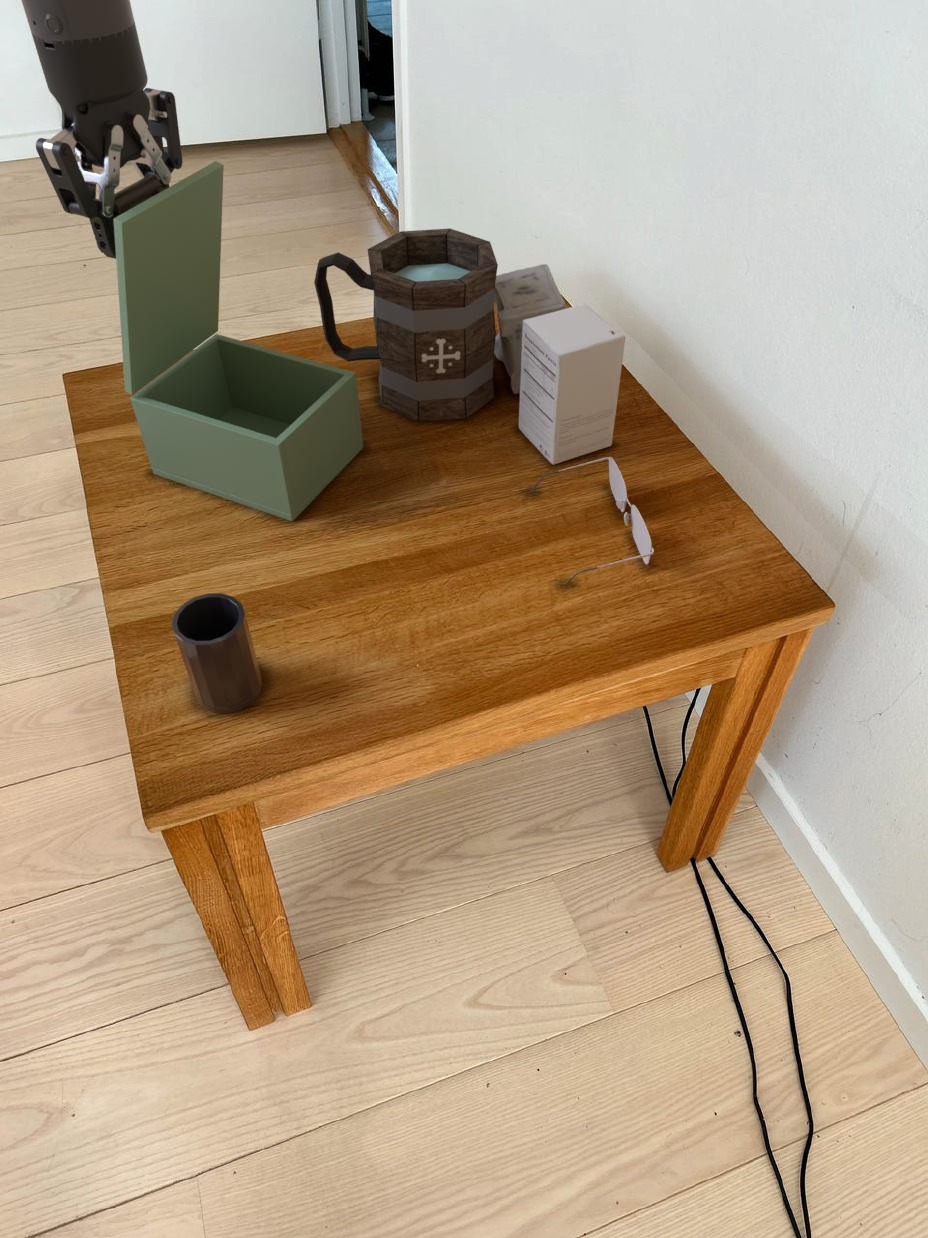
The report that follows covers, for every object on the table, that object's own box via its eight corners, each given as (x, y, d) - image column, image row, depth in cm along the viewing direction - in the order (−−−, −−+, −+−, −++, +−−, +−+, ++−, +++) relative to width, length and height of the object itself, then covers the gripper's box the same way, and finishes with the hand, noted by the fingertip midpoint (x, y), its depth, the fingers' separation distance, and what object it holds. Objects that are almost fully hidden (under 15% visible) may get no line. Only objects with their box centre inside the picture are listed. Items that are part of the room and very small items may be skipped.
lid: (224, 164, 80) (173, 137, 81) (122, 223, 72) (66, 193, 72) (218, 330, 94) (175, 307, 94) (132, 395, 86) (85, 369, 86)
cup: (203, 722, 71) (180, 653, 65) (189, 674, 74) (165, 605, 69) (269, 700, 72) (252, 631, 67) (252, 655, 76) (234, 585, 70)
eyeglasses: (652, 577, 82) (656, 544, 79) (564, 594, 81) (564, 561, 78) (608, 480, 91) (609, 448, 88) (529, 495, 91) (527, 462, 88)
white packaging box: (576, 410, 100) (587, 300, 91) (613, 447, 95) (628, 335, 86) (515, 428, 98) (520, 317, 88) (550, 467, 93) (559, 354, 84)
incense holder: (483, 352, 108) (483, 266, 101) (552, 346, 109) (558, 261, 101) (497, 399, 101) (499, 310, 94) (571, 392, 102) (579, 304, 95)
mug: (509, 364, 106) (513, 235, 95) (479, 431, 97) (481, 296, 86) (347, 342, 110) (334, 215, 99) (305, 404, 101) (285, 272, 90)
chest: (363, 447, 95) (356, 372, 89) (292, 522, 87) (278, 445, 81) (231, 407, 100) (215, 333, 94) (153, 474, 92) (129, 398, 86)
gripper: (108, -9, 75) (159, 202, 87) (-30, 40, 66) (49, 267, 78) (182, 1, 72) (225, 217, 85) (50, 53, 64) (119, 286, 76)
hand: (140, 240), depth 81 cm, fingers open, 6 cm apart
